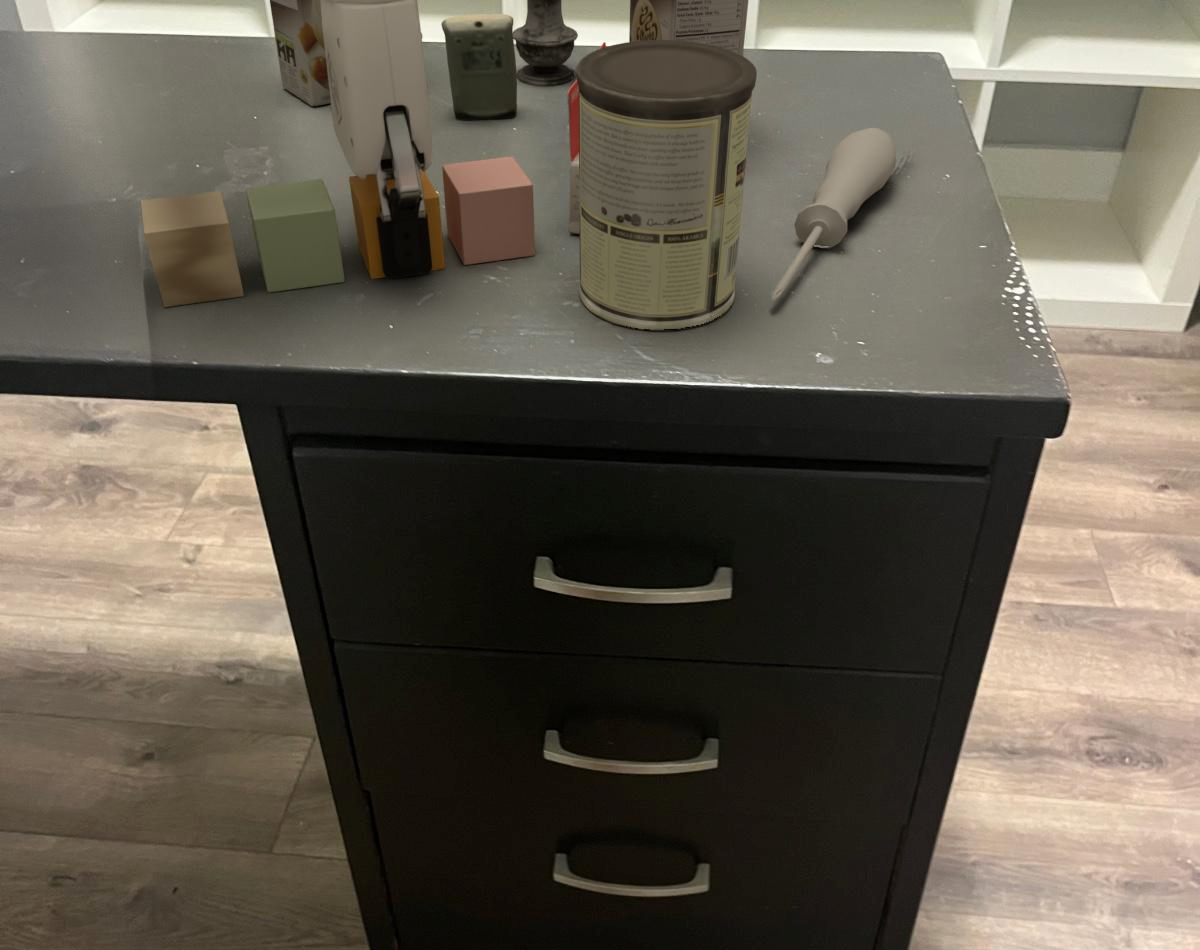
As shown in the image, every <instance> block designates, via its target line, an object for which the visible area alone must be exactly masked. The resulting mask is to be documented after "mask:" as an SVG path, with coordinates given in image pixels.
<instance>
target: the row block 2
mask: <svg viewBox="0 0 1200 950" xmlns="http://www.w3.org/2000/svg"><path fill="white" fill-rule="evenodd" d="M245 195H246V199H247V205H248V210H249V215H250V219H251V225H252V230H253V235H254V240H255V247H256V250H257V256H258V260H259V264H260V268H261V272H262V276H263V279H264V283H265V287H266V290H267V293H276V292H282V291H284V292H285V291H291V290H297V289H305V288H312V287H319V286H325V285H333V284H341V283H345V282H346V279H345V278H346V277H345V272H344V265H343V259H342V250H341V245H340V239H339V231H338V224H337V217H336V210H335V207H334V205H333V202H332V199H331V197H330V194H329V192H328V190H327V186H326V184H325V182H324V180H323V178H317V179H311V180H301V181H293V182H285V183H284V182H283V183H276V184H267V185H260V186H251V187H246V188H245Z"/></svg>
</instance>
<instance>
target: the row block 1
mask: <svg viewBox="0 0 1200 950" xmlns="http://www.w3.org/2000/svg"><path fill="white" fill-rule="evenodd" d="M140 207H141V208H140V209H141V215H142V217H141V218H142V224H143V234H144V238H145V241H146V246H147V249H148V253H149V257H150V260H151V264H152V268H153V272H154V275H155V279H156V280H155V281H156V283H157V287H158V291H159V295H160V299H161V303H162V306H163V308H169V307H177V306H183V305H192V304H198V303H206V302H213V301H220V300H226V299H233V298H240V297H244V296H245V292H244V287H243V284H242V278H241V274H240V269H239V264H238V260H237V259H238V258H237V255H236V250H235V246H234V241H233V236H232V231H231V227H230V222H229V218H228V213H227V209H226V204H225V200H224V196H223V191H222V190H217V191H216V190H215V191H209V192H208V191H207V192H199V193H191V194H190V193H189V194H183V195H173V196H166V197H165V196H164V197H158V198H147V199H141V200H140Z"/></svg>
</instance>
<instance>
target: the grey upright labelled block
mask: <svg viewBox="0 0 1200 950" xmlns="http://www.w3.org/2000/svg"><path fill="white" fill-rule="evenodd" d="M440 25H441V29H442V32H443V34H444V42H445V51H446V61H447V68H448V77H449V85H450V92H451V98H452V109H453V114H454V118H455V119H456V120H460V121H474V120H475V121H476V120H494V119H496V120H497V119H509V118H513V117H515V116H516V115H517V111H518V78H517V72H518V71H517V61H516V52H515V51H516V50H515V43H514V41H515V40H514V39H513V31H514V30H513V27H514V17H512V16H510V15H509V14H506V13H505V14H504V13H502V14H501V13H478V14H477V13H476V14H461V15H457V16H450V17H447V18H445V19H444V20H442V22H441V24H440Z"/></svg>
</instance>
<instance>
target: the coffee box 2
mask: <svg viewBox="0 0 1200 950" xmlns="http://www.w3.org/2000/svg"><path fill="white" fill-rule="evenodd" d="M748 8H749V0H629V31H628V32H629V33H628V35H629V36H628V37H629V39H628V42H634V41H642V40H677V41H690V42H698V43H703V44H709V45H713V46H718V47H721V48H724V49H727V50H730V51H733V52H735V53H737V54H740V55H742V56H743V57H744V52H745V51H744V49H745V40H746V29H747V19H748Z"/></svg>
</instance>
